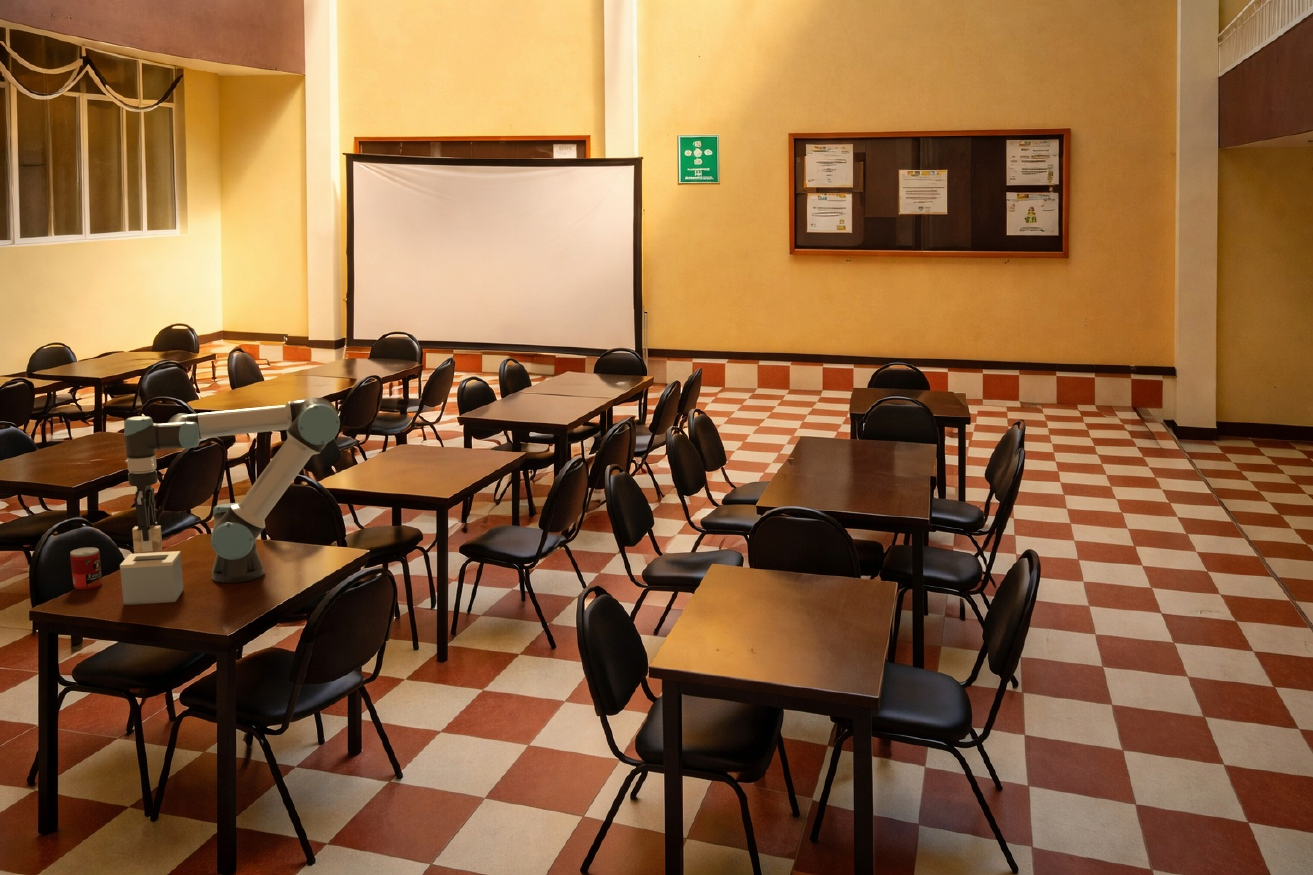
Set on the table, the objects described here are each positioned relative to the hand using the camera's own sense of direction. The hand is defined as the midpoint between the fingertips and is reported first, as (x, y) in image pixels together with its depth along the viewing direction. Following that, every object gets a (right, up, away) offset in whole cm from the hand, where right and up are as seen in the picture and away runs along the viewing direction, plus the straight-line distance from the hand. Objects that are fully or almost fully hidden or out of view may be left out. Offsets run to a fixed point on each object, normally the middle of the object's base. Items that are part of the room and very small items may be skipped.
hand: (149, 549), depth 318 cm
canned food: (-24, -13, +13) cm, 30 cm away
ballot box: (0, -14, +3) cm, 15 cm away
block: (0, 0, 0) cm, 1 cm away
